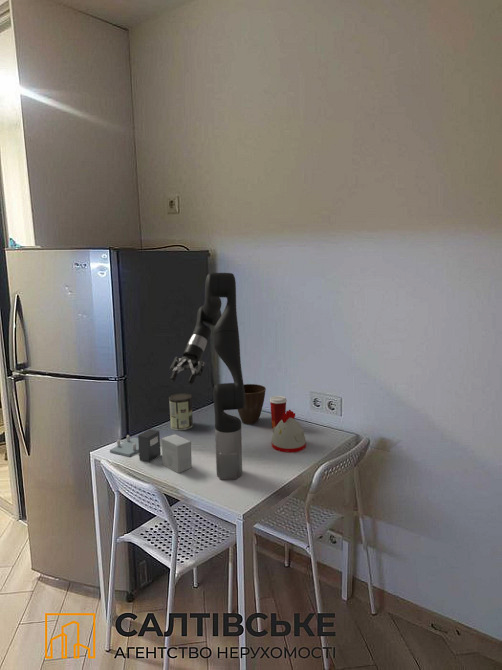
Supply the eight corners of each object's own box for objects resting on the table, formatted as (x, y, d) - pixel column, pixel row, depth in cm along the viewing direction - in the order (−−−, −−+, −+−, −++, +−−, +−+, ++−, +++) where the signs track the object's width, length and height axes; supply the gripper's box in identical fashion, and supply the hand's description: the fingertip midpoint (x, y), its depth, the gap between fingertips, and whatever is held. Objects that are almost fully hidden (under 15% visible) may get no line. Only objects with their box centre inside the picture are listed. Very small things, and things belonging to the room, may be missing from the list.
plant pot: (251, 413, 228) (250, 382, 225) (272, 421, 217) (272, 388, 215) (227, 421, 218) (226, 388, 216) (249, 429, 207) (248, 395, 205)
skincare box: (192, 467, 172) (191, 440, 170) (178, 473, 168) (177, 446, 166) (176, 459, 180) (175, 433, 178) (162, 464, 175) (160, 438, 173)
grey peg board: (133, 439, 199) (133, 431, 198) (152, 443, 194) (151, 435, 194) (109, 452, 187) (109, 444, 186) (129, 456, 182) (128, 448, 182)
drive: (151, 453, 185) (149, 429, 184) (160, 455, 183) (159, 431, 181) (139, 460, 179) (137, 435, 177) (149, 462, 177) (147, 437, 175)
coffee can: (183, 420, 221) (182, 391, 218) (197, 425, 214) (196, 396, 211) (165, 426, 213) (164, 397, 211) (179, 432, 206) (178, 401, 204)
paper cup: (290, 426, 211) (289, 396, 208) (281, 432, 204) (281, 401, 202) (274, 423, 215) (274, 394, 212) (266, 429, 208) (266, 398, 206)
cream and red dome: (264, 446, 190) (264, 410, 188) (285, 436, 200) (285, 402, 198) (291, 455, 181) (291, 418, 178) (312, 444, 191) (312, 409, 188)
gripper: (177, 341, 197) (162, 375, 189) (206, 345, 190) (191, 380, 183) (185, 350, 202) (170, 383, 195) (213, 354, 196) (199, 388, 189)
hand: (180, 382), depth 189 cm, fingers open, 8 cm apart
